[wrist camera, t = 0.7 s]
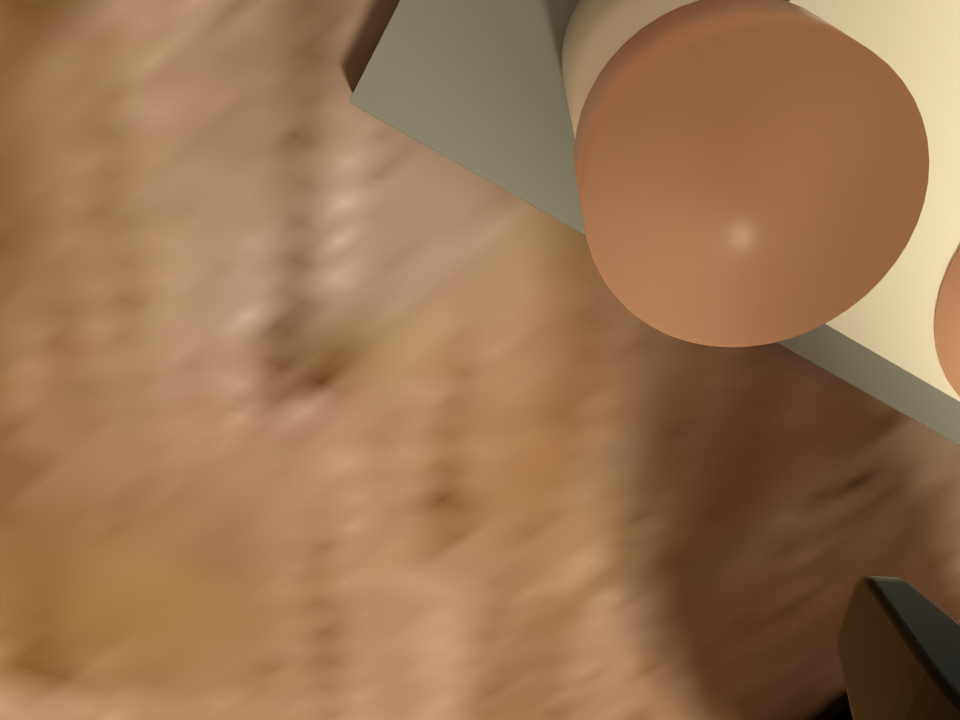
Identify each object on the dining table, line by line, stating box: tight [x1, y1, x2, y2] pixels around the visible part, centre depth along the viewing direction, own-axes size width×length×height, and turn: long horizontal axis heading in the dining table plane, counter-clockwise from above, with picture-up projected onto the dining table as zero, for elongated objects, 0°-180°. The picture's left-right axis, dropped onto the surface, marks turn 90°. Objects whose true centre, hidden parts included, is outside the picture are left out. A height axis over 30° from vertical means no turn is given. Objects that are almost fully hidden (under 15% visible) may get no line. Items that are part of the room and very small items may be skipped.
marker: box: [562, 0, 929, 347], centre depth 15 cm, size 4×4×8 cm
